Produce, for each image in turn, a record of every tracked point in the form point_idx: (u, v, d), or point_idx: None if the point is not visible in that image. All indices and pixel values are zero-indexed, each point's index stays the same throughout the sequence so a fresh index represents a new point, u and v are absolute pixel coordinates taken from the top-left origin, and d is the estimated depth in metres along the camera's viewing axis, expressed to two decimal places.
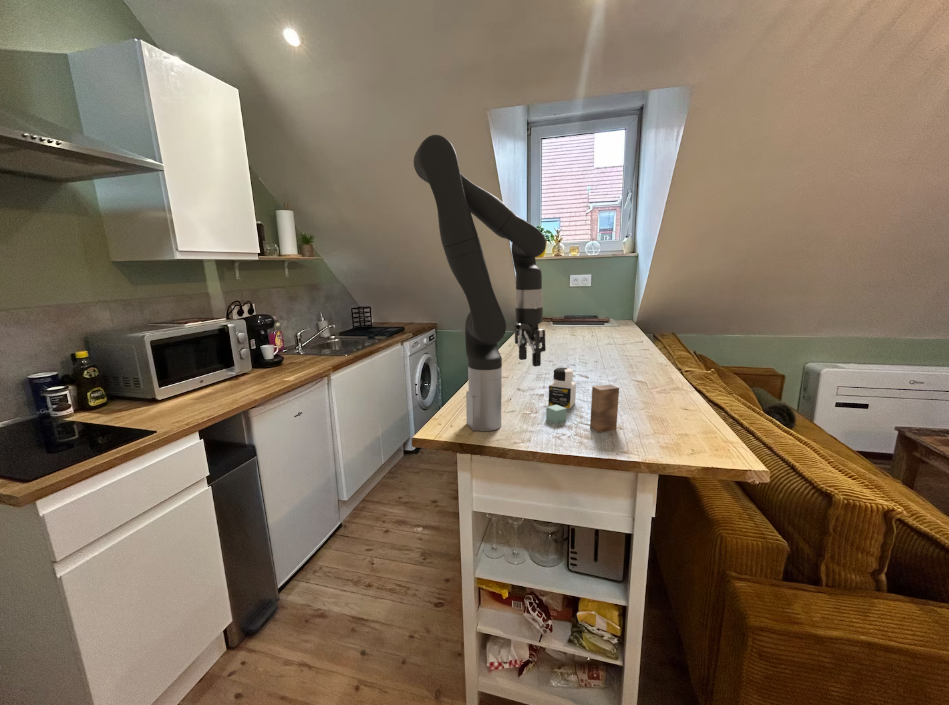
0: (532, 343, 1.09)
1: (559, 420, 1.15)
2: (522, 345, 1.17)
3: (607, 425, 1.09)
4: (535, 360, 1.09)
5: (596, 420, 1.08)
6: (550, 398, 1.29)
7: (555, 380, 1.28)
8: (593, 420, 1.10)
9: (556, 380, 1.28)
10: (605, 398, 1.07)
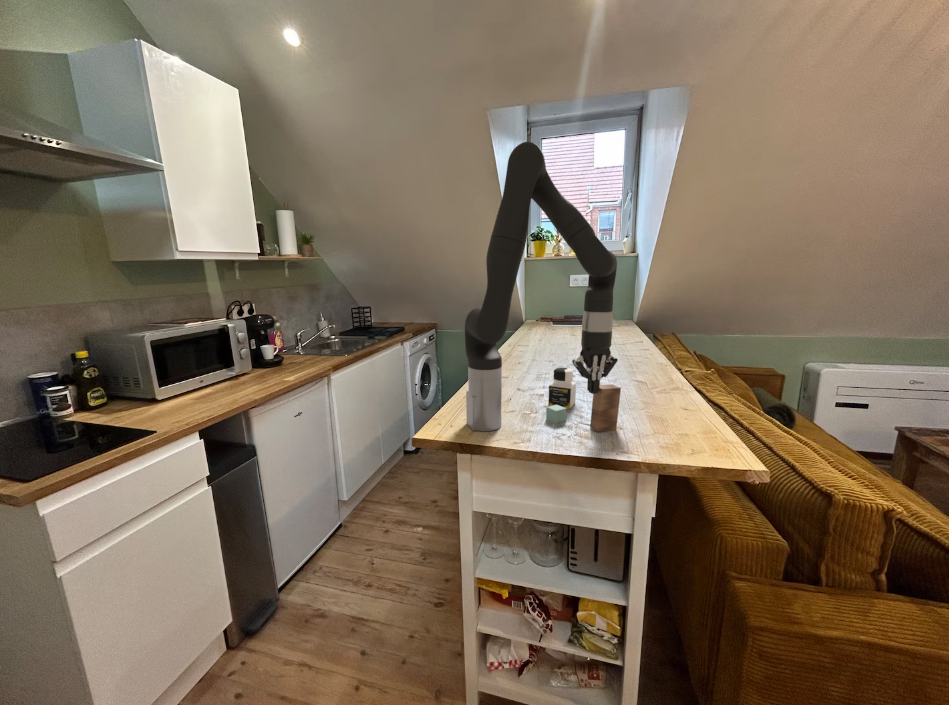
0: None
1: (559, 420, 1.15)
2: None
3: (607, 425, 1.09)
4: (598, 386, 1.07)
5: (597, 419, 1.08)
6: (550, 398, 1.29)
7: (555, 380, 1.28)
8: (593, 419, 1.10)
9: (556, 380, 1.28)
10: (606, 397, 1.07)
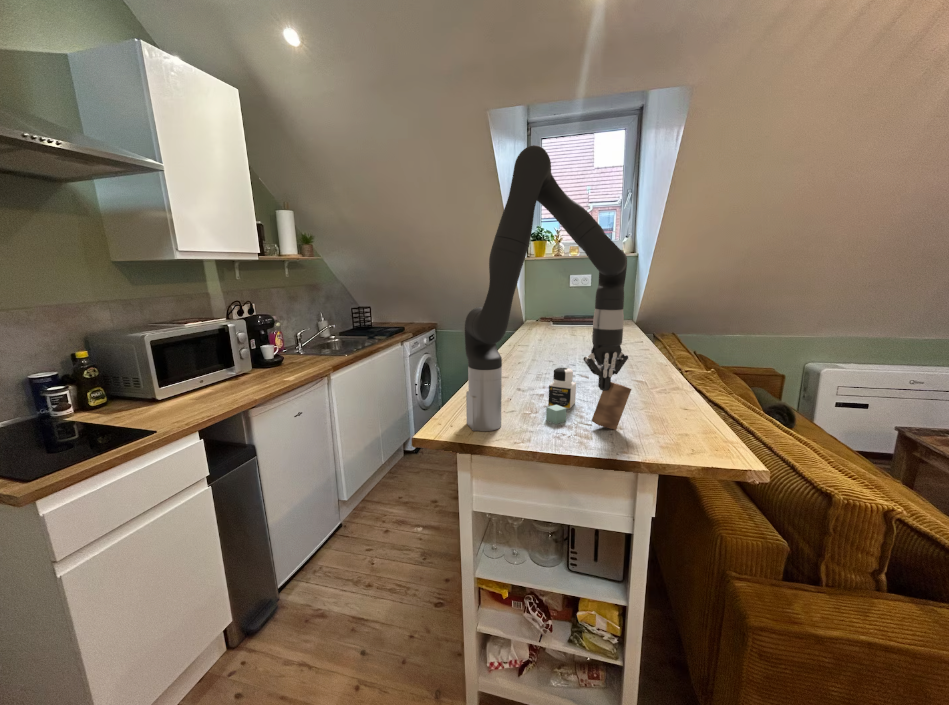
0: None
1: (559, 420, 1.15)
2: None
3: (609, 421, 1.09)
4: (609, 383, 1.08)
5: (601, 413, 1.08)
6: (550, 398, 1.29)
7: (555, 380, 1.28)
8: (597, 413, 1.10)
9: (556, 380, 1.28)
10: (616, 394, 1.08)
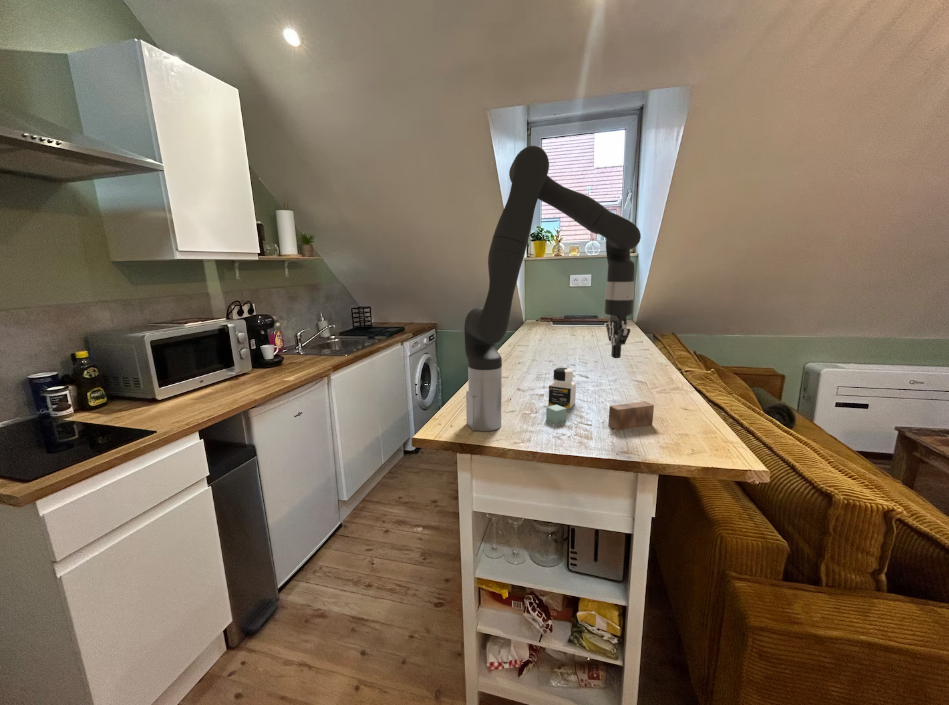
0: None
1: (559, 420, 1.15)
2: None
3: (622, 419, 1.10)
4: None
5: (625, 407, 1.11)
6: (550, 398, 1.29)
7: (555, 380, 1.28)
8: (621, 406, 1.12)
9: (556, 380, 1.28)
10: (645, 412, 1.12)
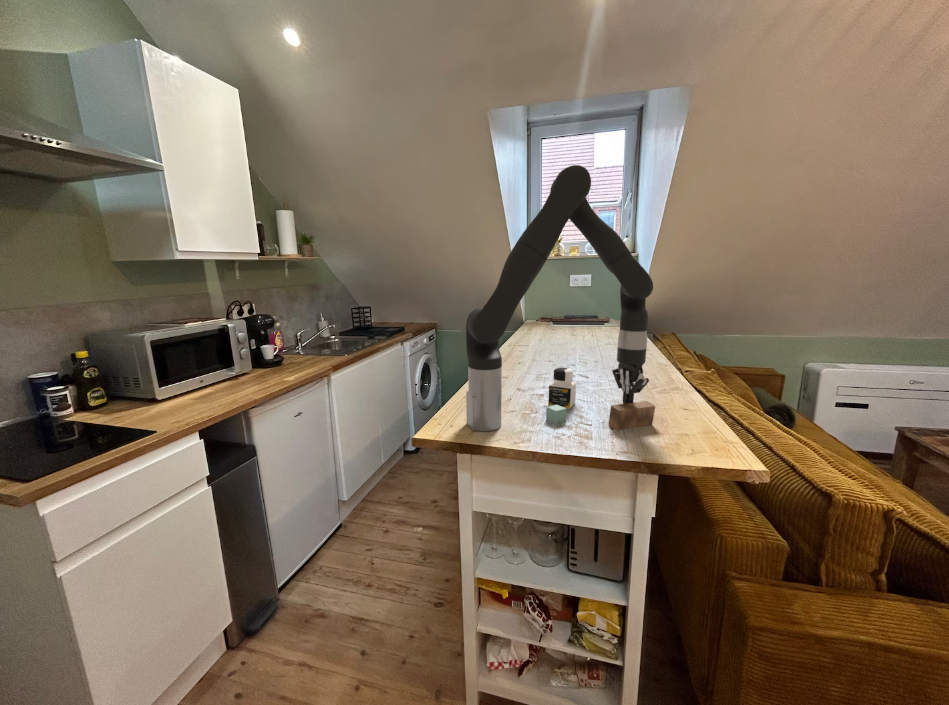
0: None
1: (559, 420, 1.15)
2: None
3: (622, 420, 1.10)
4: None
5: (627, 408, 1.10)
6: (550, 398, 1.29)
7: (555, 380, 1.28)
8: (622, 406, 1.11)
9: (556, 380, 1.28)
10: (646, 413, 1.12)
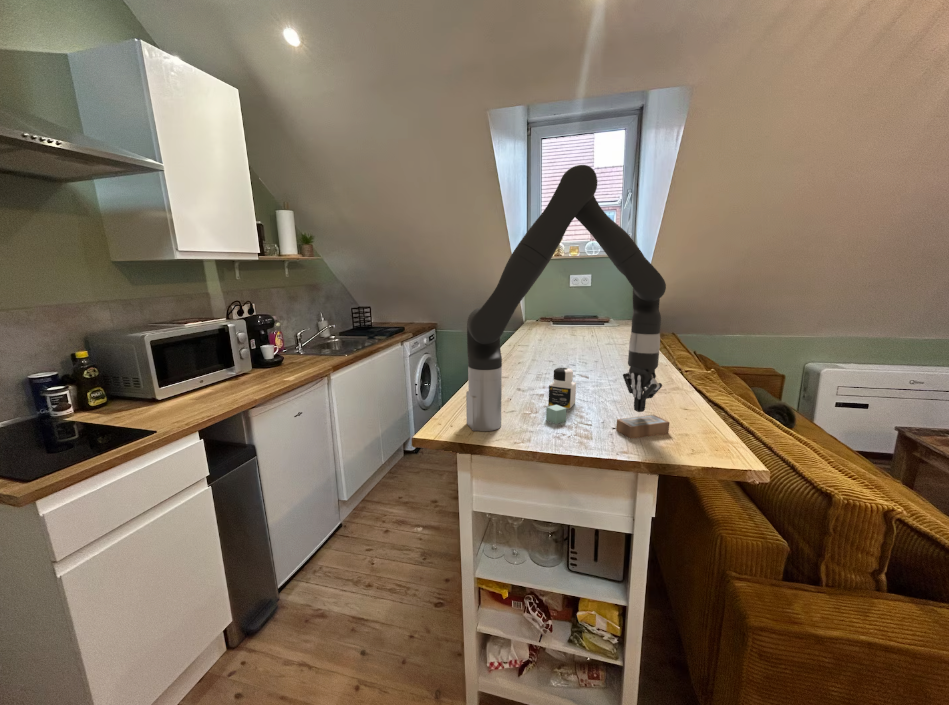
0: None
1: (559, 420, 1.15)
2: None
3: None
4: None
5: (641, 435, 1.05)
6: (550, 398, 1.29)
7: (555, 380, 1.28)
8: (639, 431, 1.05)
9: (556, 380, 1.28)
10: None
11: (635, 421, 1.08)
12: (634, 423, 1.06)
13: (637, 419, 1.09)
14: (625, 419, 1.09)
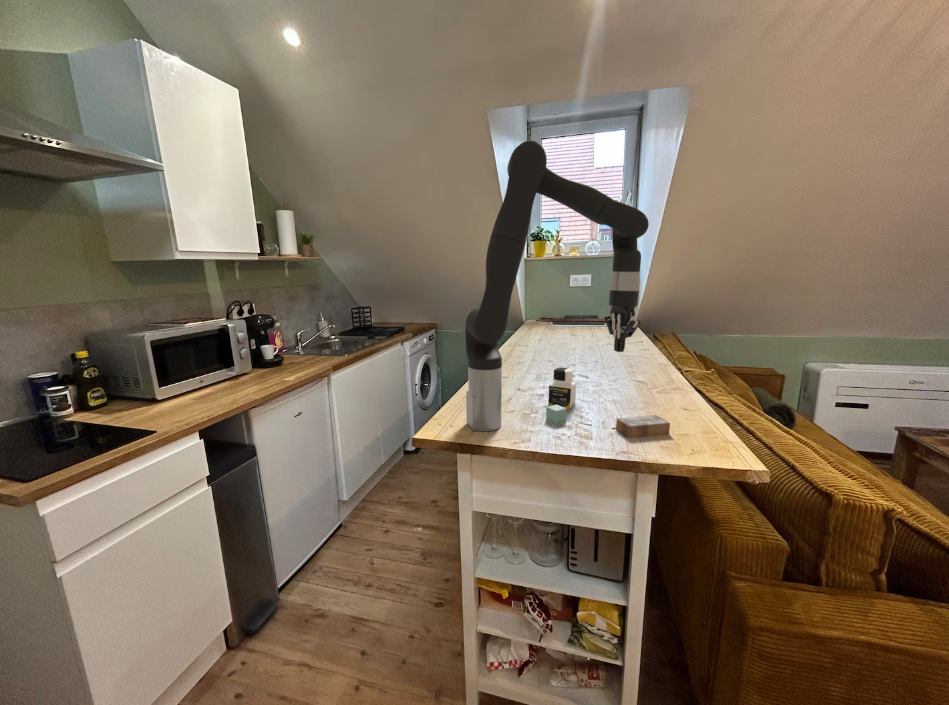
0: None
1: (559, 420, 1.15)
2: None
3: None
4: None
5: (639, 435, 1.05)
6: (550, 398, 1.29)
7: (555, 380, 1.28)
8: (638, 430, 1.05)
9: (556, 380, 1.28)
10: None
11: (635, 420, 1.08)
12: (633, 423, 1.06)
13: (637, 419, 1.09)
14: (625, 418, 1.10)
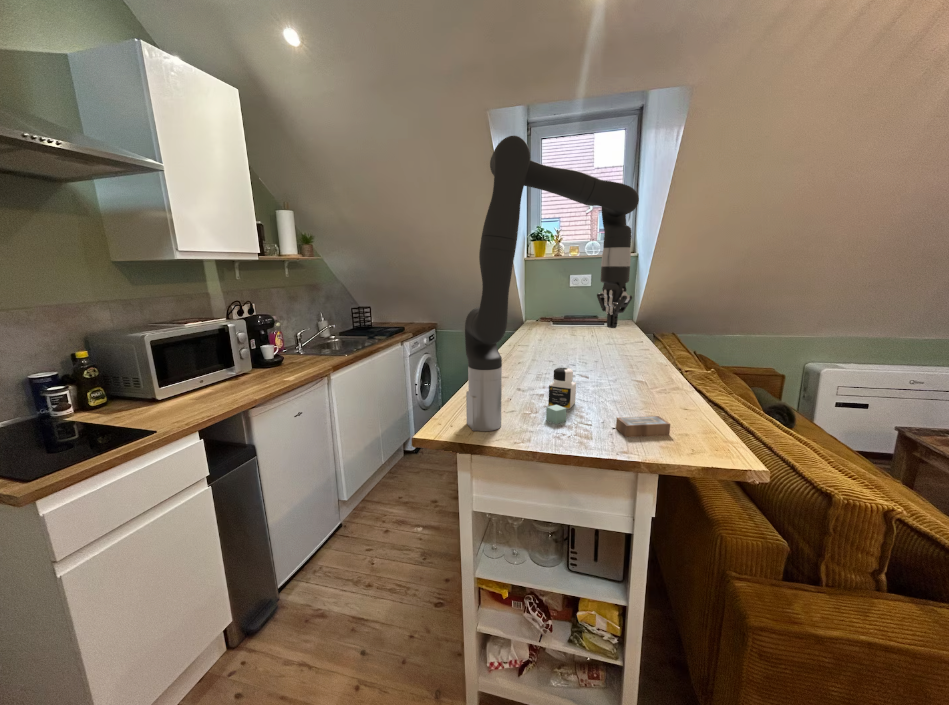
0: None
1: (559, 420, 1.15)
2: None
3: None
4: None
5: (637, 435, 1.06)
6: (550, 398, 1.29)
7: (555, 380, 1.28)
8: (636, 430, 1.05)
9: (556, 380, 1.28)
10: None
11: (634, 420, 1.08)
12: (632, 422, 1.07)
13: (637, 419, 1.09)
14: (625, 418, 1.10)
